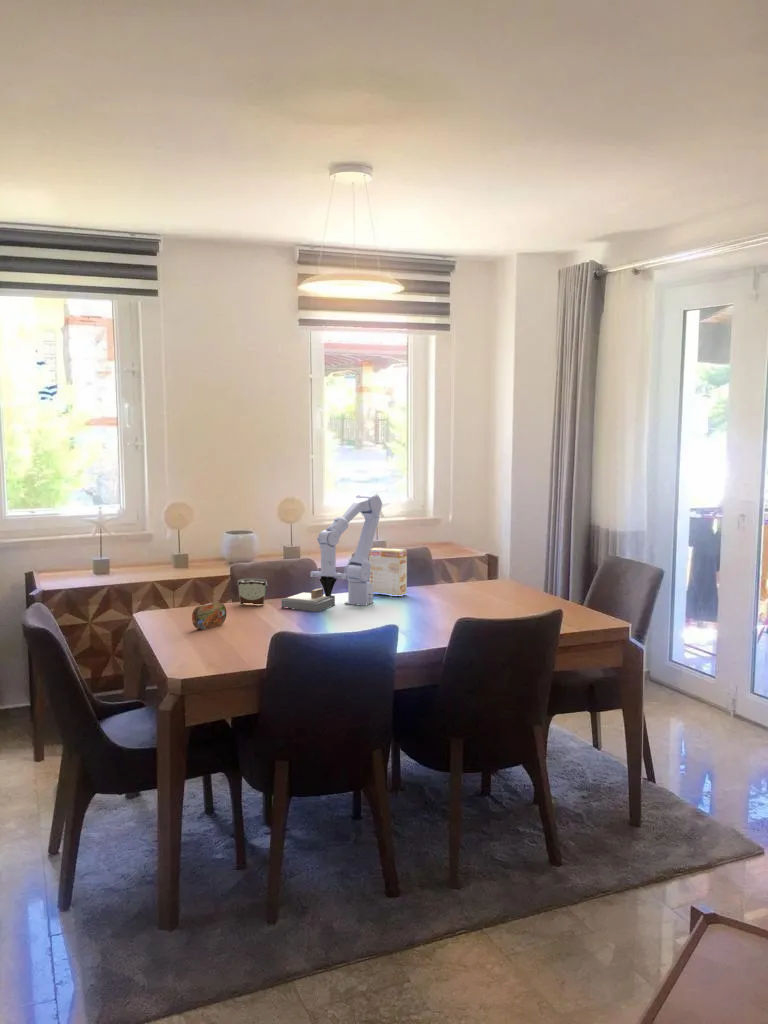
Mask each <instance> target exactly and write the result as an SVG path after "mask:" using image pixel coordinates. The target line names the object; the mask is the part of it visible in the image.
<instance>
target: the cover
mask: <svg viewBox="0 0 768 1024" xmlns="http://www.w3.org/2000/svg"><path fill="white" fill-rule="evenodd" d="M299 593H300V594H299ZM299 593H297V594H294V595H291V596H288V597H286V599H297V600H307V601H321V600H323V599H326V598H329V597H330V596H329V597H326V596H325V593H324V589H323V587H321V588H319V587H318V588H314V589H312V590H310V592H299Z"/></svg>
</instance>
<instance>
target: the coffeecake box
mask: <svg viewBox="0 0 768 1024" xmlns="http://www.w3.org/2000/svg"><path fill="white" fill-rule="evenodd" d="M368 561H369V562H370V564H371V569H370V571H371V574H370V577H369V579H368V582H370V583H372V586H373V592H379V593H386V594H392V595H402V594H405V593H407V592H408V591H407V589H408V587H407V585H408V582H407V581H408V575H407V574H408V566H407V565H408V550H407V549H403V548H392V547H391V548H390V547H389V548H388V547H373V548H372V547H371V550H370V553H369V557H368Z"/></svg>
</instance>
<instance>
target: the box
mask: <svg viewBox="0 0 768 1024" xmlns="http://www.w3.org/2000/svg"><path fill="white" fill-rule="evenodd" d="M300 593H301V592H299V593H298V594H300ZM335 597H336V596H335V595H332V594H331V596H330V597H329V598H326V599H323V600H321V601H307V600H297V599H287V597H286V598H285V597H284V598H283V597H281V608H282V607H288V608H294V609H293V610H295V609H302V610H301V611H305V610H309V611H308V612H315V611H318V612H321V611H323V609H324V610H325V608H326V609H329V608H331V607H330V606H332V607H333V605H334V606H335V605H336V602H335V599H336V598H335ZM328 607H329V608H328ZM320 610H321V611H320Z"/></svg>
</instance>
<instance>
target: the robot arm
mask: <svg viewBox="0 0 768 1024" xmlns="http://www.w3.org/2000/svg"><path fill="white" fill-rule="evenodd" d="M382 506H383V502H382V499H381V497H380V496H379V495H377V494H363V493H359V494H357V495H356V496H355V497H354V498H353V500H352V503H351V505H350V506H349V507H348V509H347V510H346V511H345V512H344V513H343V515H342V516H338V517H335V518H334V519H333V521H332V523H330V524H329V526H327V528H326V529H324V530H321V532H319V534H318V537H317V538H316V540H317V543H319V544H318V545H319V549H320V571H315V570H314V571H313V570H312V571H310V577H311V578H312V577H316V578H319V582H320V584H321V586H322V588H323V593H324V594H325V596H326V597H329V596H331V595H332V592H333V589H334V586H335V583H336V582H337V579H340V580H346V581H348V583H347V584H348V585H347V588H348V589H347V590H348V594H347V595H348V597H347V598H348V600H347V601H345V602H344V603H348V604H347V605H354V604H359V605H358V606H367V605H366V604H368V605H370V604H372V603H371V602H373V601H374V599H373V598H374V594H373V586H372V583H370V582H369V577H370V574H371V571H370V569H371V564H370V562H369V553H370V550H371V549H372V545H373V542H374V538H375V535H376V533H377V528H378V524H379V521H380V518H381V517H380V514H381V510H382ZM358 514H361V515H362V516H363V518H364V522H363V525H362V528H361V532H360V536H359V540H358V543H357V546H356V550H355V554H354V556H352V557H351V558H350V559H348V562H347V564H346V565H345V567H344V571H343V573H342V572H336V567H337V566H336V560H337V559H336V554H337V553H336V551H337V548H336V546H337V545H338V544H339V542H340V538H341V536H342V535H343V533H344V532H345V531H346V530H347V529H349V523H350V522H351V521H352V520H353V519H354V518H355V517H357V515H358ZM369 603H370V604H369ZM373 603H374V602H373Z"/></svg>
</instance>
